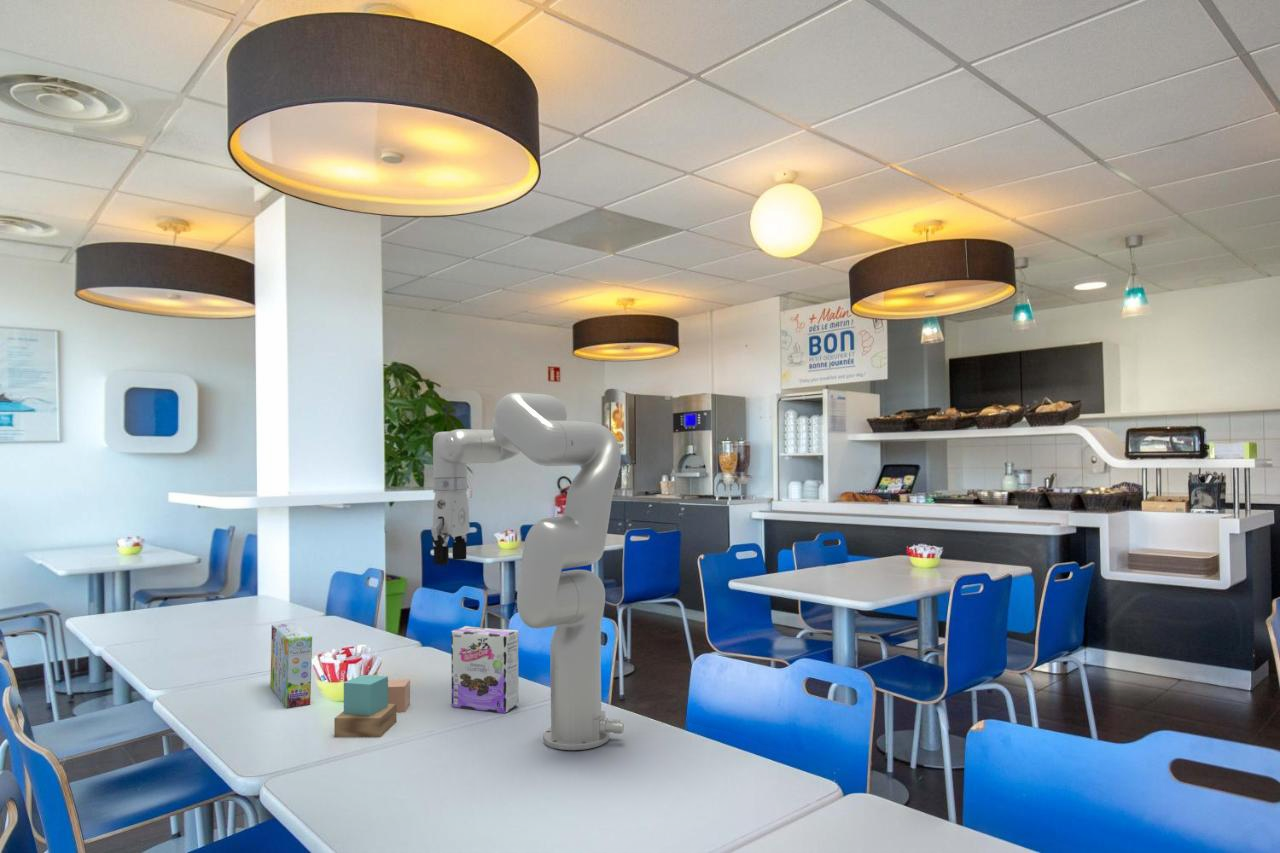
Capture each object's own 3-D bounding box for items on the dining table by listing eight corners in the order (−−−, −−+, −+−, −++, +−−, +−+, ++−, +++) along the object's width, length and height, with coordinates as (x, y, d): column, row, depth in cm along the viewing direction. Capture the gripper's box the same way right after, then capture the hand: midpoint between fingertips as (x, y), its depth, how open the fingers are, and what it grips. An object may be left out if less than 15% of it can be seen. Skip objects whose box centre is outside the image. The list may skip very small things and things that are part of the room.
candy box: (450, 707, 171) (449, 630, 171) (465, 699, 176) (465, 625, 177) (505, 714, 165) (504, 634, 166) (519, 706, 171) (519, 629, 172)
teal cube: (388, 706, 160) (388, 676, 160) (370, 715, 154) (370, 684, 154) (362, 704, 161) (362, 674, 162) (343, 713, 156) (343, 682, 156)
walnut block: (396, 723, 162) (396, 703, 162) (380, 739, 153) (380, 718, 153) (353, 723, 162) (353, 703, 162) (334, 739, 153) (334, 718, 153)
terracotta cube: (410, 704, 173) (410, 679, 173) (404, 712, 168) (404, 686, 168) (384, 705, 173) (384, 680, 173) (378, 713, 167) (378, 687, 168)
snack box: (313, 704, 174) (313, 635, 175) (285, 709, 171) (286, 638, 172) (293, 683, 192) (294, 620, 193) (268, 687, 189) (269, 623, 189)
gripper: (449, 487, 170) (450, 567, 170) (480, 484, 187) (480, 557, 187) (417, 487, 172) (417, 566, 171) (450, 485, 189) (451, 557, 188)
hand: (450, 561), depth 179 cm, fingers open, 9 cm apart
